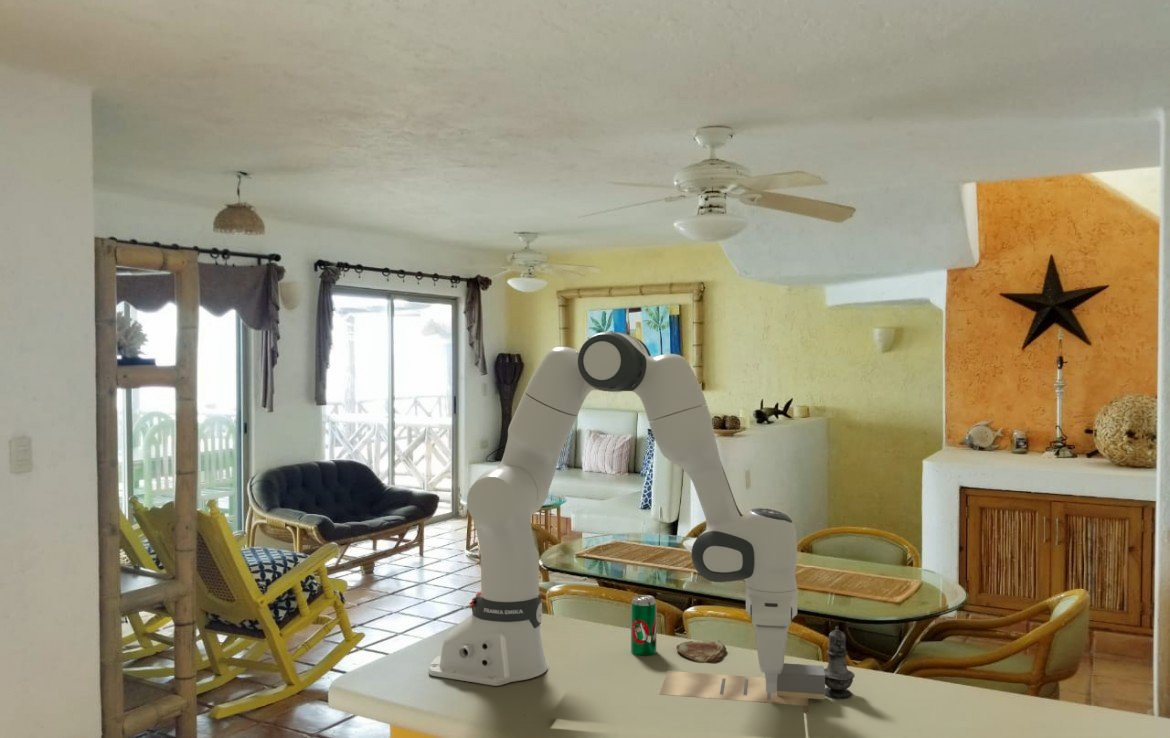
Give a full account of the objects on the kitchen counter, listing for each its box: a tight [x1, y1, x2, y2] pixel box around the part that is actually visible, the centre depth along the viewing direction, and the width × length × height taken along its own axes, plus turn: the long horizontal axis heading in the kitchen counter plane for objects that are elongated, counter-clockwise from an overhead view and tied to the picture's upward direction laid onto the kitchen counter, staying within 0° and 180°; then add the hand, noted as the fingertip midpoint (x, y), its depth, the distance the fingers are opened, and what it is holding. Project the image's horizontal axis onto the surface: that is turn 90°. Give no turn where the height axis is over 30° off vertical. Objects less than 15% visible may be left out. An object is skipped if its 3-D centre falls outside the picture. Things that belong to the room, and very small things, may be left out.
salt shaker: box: [824, 625, 856, 700], centre depth 152 cm, size 6×6×12 cm
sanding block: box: [777, 662, 826, 700], centre depth 150 cm, size 8×5×4 cm, turn 78°
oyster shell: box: [675, 639, 727, 664], centre depth 172 cm, size 13×10×3 cm
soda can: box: [630, 594, 657, 657], centre depth 172 cm, size 5×5×12 cm
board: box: [659, 670, 810, 714], centre depth 152 cm, size 25×12×1 cm, turn 78°
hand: (771, 682), depth 151 cm, fingers open, 8 cm apart
